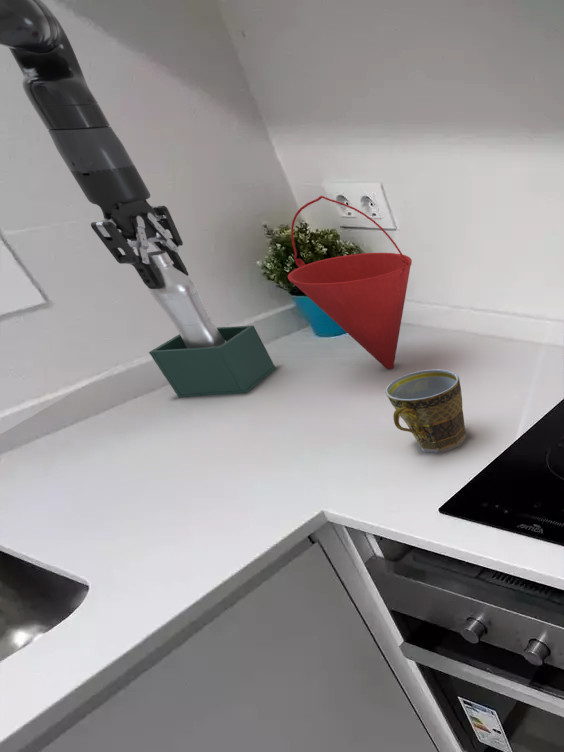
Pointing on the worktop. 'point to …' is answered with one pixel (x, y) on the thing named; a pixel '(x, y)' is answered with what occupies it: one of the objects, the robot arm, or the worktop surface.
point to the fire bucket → (359, 293)
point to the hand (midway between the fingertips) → (169, 282)
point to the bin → (215, 364)
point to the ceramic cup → (429, 408)
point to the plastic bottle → (183, 304)
